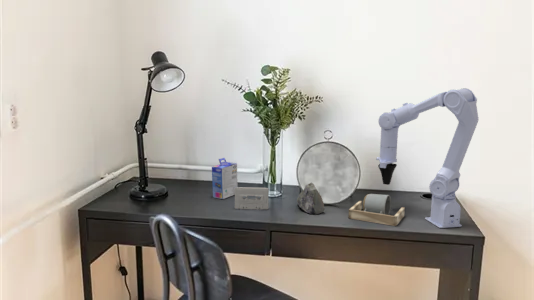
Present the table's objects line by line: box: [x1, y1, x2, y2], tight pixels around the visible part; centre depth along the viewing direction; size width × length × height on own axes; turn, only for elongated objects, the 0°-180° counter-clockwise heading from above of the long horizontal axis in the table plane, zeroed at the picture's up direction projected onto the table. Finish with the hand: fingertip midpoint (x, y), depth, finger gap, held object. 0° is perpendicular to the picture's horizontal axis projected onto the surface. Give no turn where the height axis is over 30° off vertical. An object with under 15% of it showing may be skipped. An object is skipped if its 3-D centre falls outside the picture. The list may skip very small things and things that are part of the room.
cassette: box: [234, 186, 270, 210], centre depth 177 cm, size 12×2×8 cm, turn 89°
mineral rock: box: [296, 182, 325, 215], centre depth 177 cm, size 13×11×10 cm
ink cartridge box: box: [211, 157, 239, 200], centre depth 192 cm, size 10×6×14 cm, turn 148°
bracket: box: [347, 200, 405, 227], centre depth 169 cm, size 12×16×3 cm
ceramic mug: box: [362, 193, 392, 215], centre depth 169 cm, size 11×8×8 cm
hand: (386, 184), depth 177 cm, fingers closed
